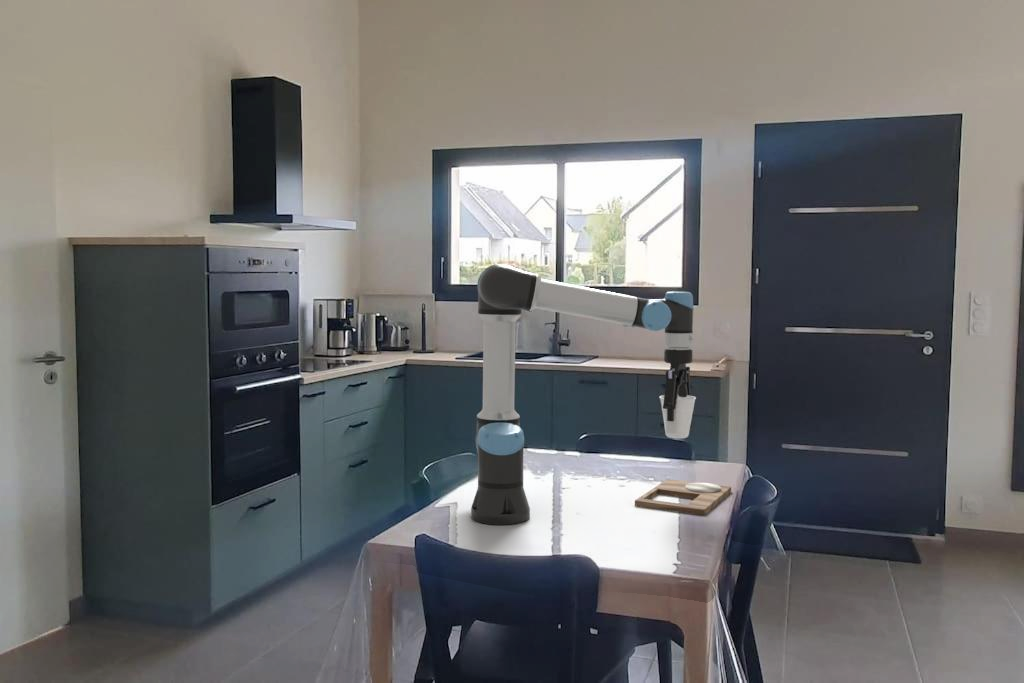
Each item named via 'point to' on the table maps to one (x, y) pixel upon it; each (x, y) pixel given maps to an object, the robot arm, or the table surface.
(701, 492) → the board
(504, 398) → the robot arm
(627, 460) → the table surface
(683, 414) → the cup
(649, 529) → the table surface
